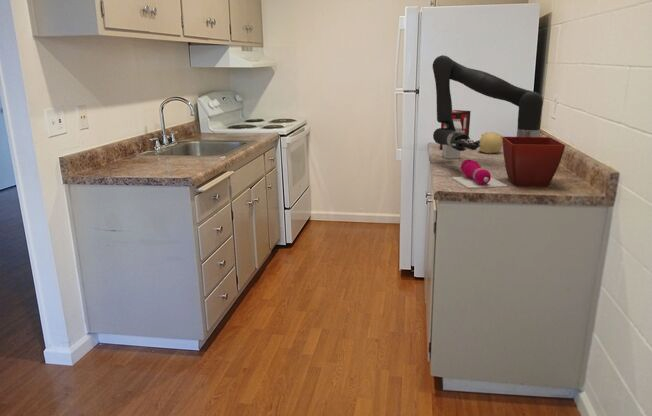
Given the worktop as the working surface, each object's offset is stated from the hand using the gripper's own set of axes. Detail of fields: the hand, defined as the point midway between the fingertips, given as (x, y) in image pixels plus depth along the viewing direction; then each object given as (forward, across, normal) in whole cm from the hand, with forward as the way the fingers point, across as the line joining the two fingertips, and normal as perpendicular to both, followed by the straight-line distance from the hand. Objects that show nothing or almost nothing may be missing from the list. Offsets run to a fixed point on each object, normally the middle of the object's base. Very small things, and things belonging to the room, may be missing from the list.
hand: (474, 147), depth 203 cm
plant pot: (+10, +19, +13) cm, 25 cm away
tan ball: (-56, +33, +13) cm, 66 cm away
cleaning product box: (-71, +20, +13) cm, 75 cm away
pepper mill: (-5, 0, +9) cm, 10 cm away
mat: (+6, 0, +13) cm, 14 cm away
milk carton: (-46, +8, +13) cm, 49 cm away
